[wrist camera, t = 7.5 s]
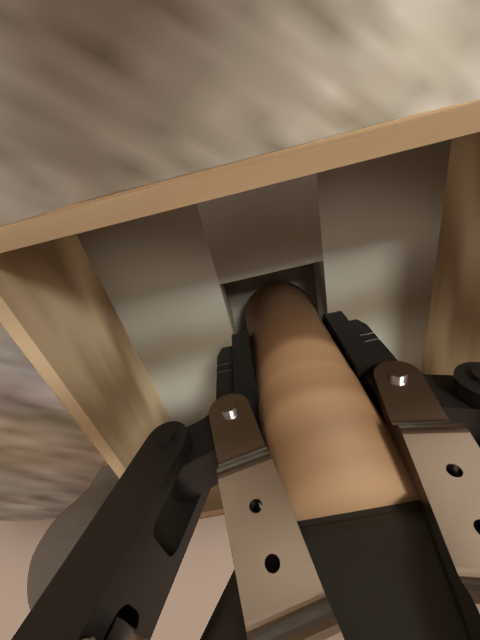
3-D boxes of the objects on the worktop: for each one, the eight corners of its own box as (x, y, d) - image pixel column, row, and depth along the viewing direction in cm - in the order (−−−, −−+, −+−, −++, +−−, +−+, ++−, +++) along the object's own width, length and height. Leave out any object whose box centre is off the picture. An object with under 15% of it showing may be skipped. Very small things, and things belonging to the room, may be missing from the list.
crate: (74, 203, 13) (-59, 244, 7) (433, 109, 12) (657, 58, 6) (176, 413, 20) (155, 526, 14) (409, 366, 19) (498, 465, 13)
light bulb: (190, 435, 21) (167, 631, 12) (149, 475, 23) (104, 666, 14) (115, 400, 19) (23, 607, 10) (77, 448, 21) (-25, 652, 12)
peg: (238, 290, 14) (263, 509, 5) (307, 275, 14) (451, 476, 5) (252, 345, 16) (288, 580, 7) (313, 332, 15) (430, 558, 7)
